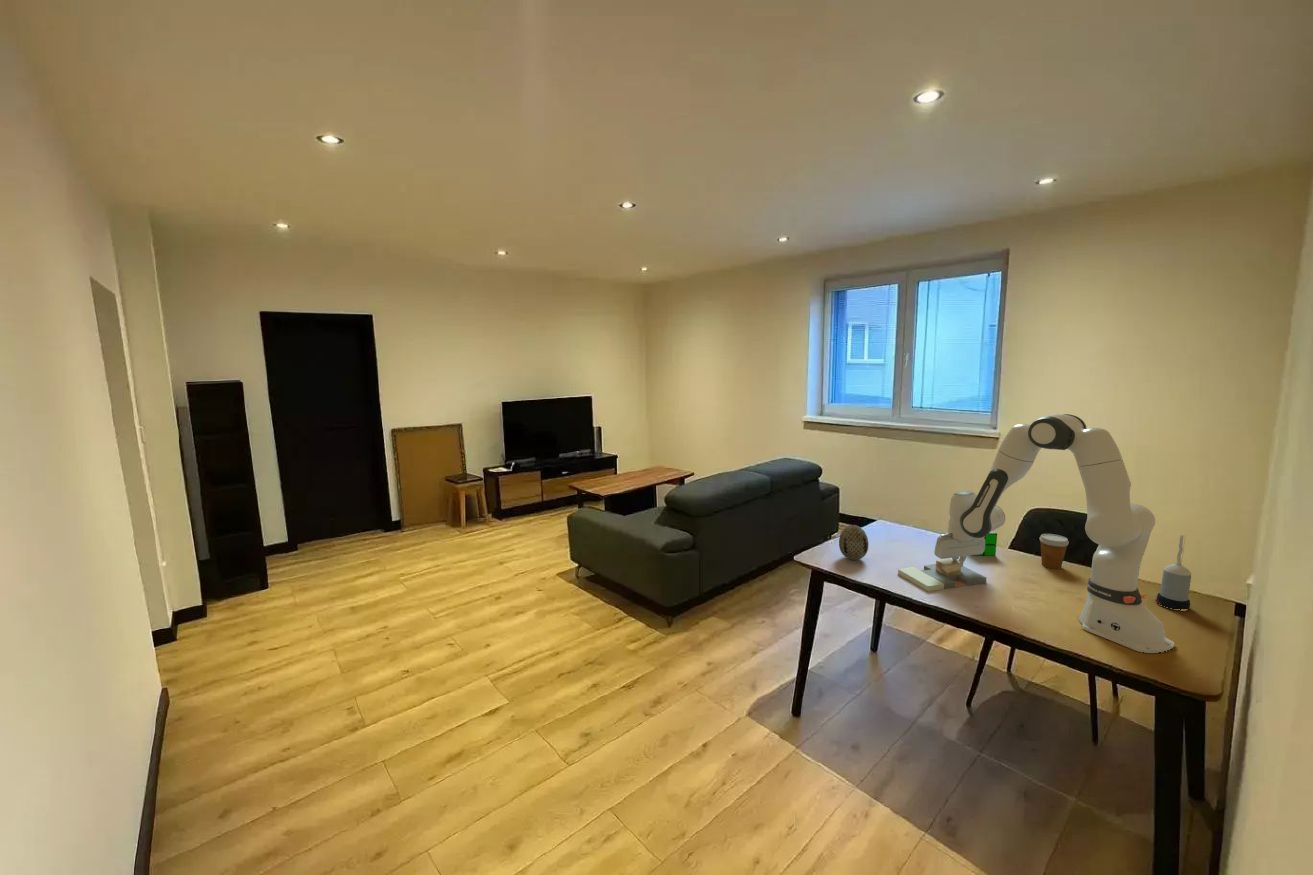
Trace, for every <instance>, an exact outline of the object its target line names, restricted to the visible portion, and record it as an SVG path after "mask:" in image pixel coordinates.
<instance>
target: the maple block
mask: <svg viewBox="0 0 1313 875" xmlns="http://www.w3.org/2000/svg"><path fill="white" fill-rule="evenodd" d="M935 564H936V570H937V571H939V572H940V573H942V574H944V575H946V576H951V575H959V574H961V564H959V563H957V562H955V561H953V559H952V558H946V559H936V560H935Z"/></svg>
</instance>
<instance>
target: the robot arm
mask: <svg viewBox="0 0 1313 875" xmlns="http://www.w3.org/2000/svg"><path fill="white" fill-rule="evenodd" d="M1042 449H1046V450H1056V451H1057V450H1060V451H1066V450H1069V451H1070V452H1071V453H1072V454H1073V456H1074V458H1075V462H1076V464H1077V467H1078V471H1079V474H1080V478H1081V481H1082V484H1083V487H1084V492H1085V498H1086V514H1087V517H1086V522H1085V526H1084V530H1085V533H1086V535H1087V537H1088V538H1089V539H1090V540H1091V541H1092V542H1094V543H1095V544H1097V545H1098V546H1097V548H1096V551H1094V553H1093V555H1092V563H1091V570H1090V577H1089V578H1088V581H1087V588H1086V590H1087V596H1086V599H1085V600H1086V601H1085V603H1084V606H1083V610H1082V612H1081V613H1080V615H1079V617H1078V620H1079V622H1080V623H1081V627H1082V629H1083V630H1084V631H1086V632H1089V633H1091V634H1094V635H1096V636H1099V637H1101V638H1103V639H1107V640H1109V641H1111V642H1113V643H1116V644H1119V645H1121V646H1123V647H1126V648H1129V649H1131V650H1133V651H1136V652H1139V653H1143V652H1144V653H1145V654H1146V653H1147V654H1158V653H1159V652H1161V653H1165V652H1164V651H1166V652H1168V651H1167V650H1169V651H1171V650H1170V649H1171V648H1173V647H1174V648H1175V642H1174V641H1173V640H1171V639H1169V638H1167V637H1166V634H1165V626H1164V624H1163V622H1162V621H1161V619H1159V618H1158V616H1156V615H1154V613H1153V612H1152V611H1151V610H1150V609H1149V608H1148V607H1147V606H1146V605H1145V604H1144V603H1143V600H1144V599H1147V594H1141V593H1140V590H1139V587H1138V581H1139V577H1140V569H1141V565H1142V560H1143V556H1144V555H1145V552H1146V549H1147V547H1148V543H1149V540H1150V537H1151V533H1152V531H1153V529H1154V528H1155V525H1156V518H1155V515H1154V512H1152V511H1151V510H1150V509H1149V508H1148V507H1146V506H1144V505H1141V504H1137V503H1131V493H1130V491H1131V486H1132V483H1131V479H1130V477H1129V474H1128V471H1127V467H1126V465H1125V463H1124V459H1123V456H1122V454H1121V451H1120V449H1119V447H1118V444H1117V443H1116V441H1115V439H1114V438H1113V436H1112V435H1111V433H1110V432H1109V431H1108V430H1107V429H1105V428H1101V427H1089V428H1087V424H1086V423H1085V421H1084V420H1083V419H1082V418H1080V417H1079V416H1077V415H1073V414H1068V413H1067V414H1066V413H1063V414H1060V413H1059V414H1057V413H1056V414H1050V415H1049V414H1048V415H1046V416H1044V415H1043V416H1041V417H1039V418H1037V419H1035V420H1034V421H1032V422H1031V424H1028V423H1027V424H1026V423H1019V424H1018V423H1017V424H1015V425H1013V426H1012V427H1011V428H1010V430H1008V432H1007V434H1006V435H1005V437H1004V438H1003V440H1002V442H1001V444H1000V446H999V447H998V450H997V452H996V455H995V457H994V459H993V462H992V465H991V467H990V470H989V471H988V474H987V476H986V478H985V480H984V482H983V484H982V486H981V487H980V490H979V492H978V494H977V493H976V492H973V491H970V490H969V491H968V490H967V491H964V490H963V491H957V492H955V493H953V494H952V496H951V498H950V501H949V502H950V503H949V510H948V513H949V519H948V523H947V524H948V526H947V533H946V534H940V536H938V537H937V538H936V539H937V540H936V542H935V547H934V551H933V552H934V555H935V557H936V558H939V559H940V560H942V559H951V560H953V561H955V562H957V563H959V564H961V567H962V566H964V563H965V561H966V560H967V557H969V556H978V555H977V554H982V553H983V552H984V550H985V538H984V537H985V536H986V535H987V534H989V533H990V532H992V531H994V532H995V531H996V530H998V529H1000V528H1001V527H1003V526H1004V524H1005V522H1006V514H1005V512H1004V510H1003V509H1002V508H1001V507H1000V506H998V505H997V504H998V502H999V500H1000V498H1001V497H1002V495H1003V494H1004V492H1005V491H1006V490H1007V489H1009V488H1010V487H1011V486H1013V485H1014V484H1015V483H1017V482H1018V481H1020V480H1021V479H1023V478H1024V477H1025V476H1026V475H1027V474H1028V472H1029V471H1030V470H1031V468H1032V466H1033V464H1034V462H1035V460H1036V459H1037V456H1038V453H1039V452H1040V451H1041V450H1042ZM1174 648H1173V649H1174ZM1159 654H1160V653H1159Z"/></svg>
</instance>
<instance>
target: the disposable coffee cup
mask: <svg viewBox="0 0 1313 875" xmlns="http://www.w3.org/2000/svg"><path fill="white" fill-rule="evenodd" d="M1039 541H1040V555H1041V565H1042V566H1043V567H1045V568H1047V569H1052V570H1058V569H1062V565H1063V562H1064V558H1065V555H1066V551H1067V548H1068V545H1069V543H1070V542H1069V540H1068V538H1067V537H1065V536H1062V535H1059V534H1053V533H1043V534H1040V537H1039Z"/></svg>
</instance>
